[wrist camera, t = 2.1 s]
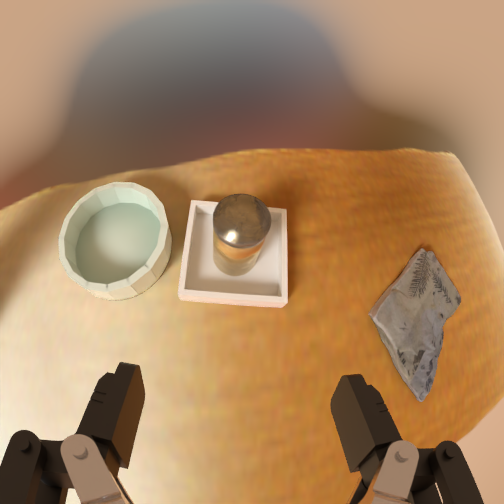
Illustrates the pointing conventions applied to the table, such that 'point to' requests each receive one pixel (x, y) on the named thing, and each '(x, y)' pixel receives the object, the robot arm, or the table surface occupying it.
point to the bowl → (116, 241)
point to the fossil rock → (416, 319)
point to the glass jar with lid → (239, 233)
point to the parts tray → (225, 286)
